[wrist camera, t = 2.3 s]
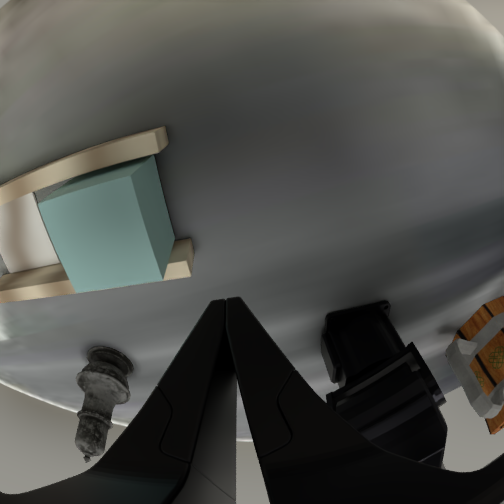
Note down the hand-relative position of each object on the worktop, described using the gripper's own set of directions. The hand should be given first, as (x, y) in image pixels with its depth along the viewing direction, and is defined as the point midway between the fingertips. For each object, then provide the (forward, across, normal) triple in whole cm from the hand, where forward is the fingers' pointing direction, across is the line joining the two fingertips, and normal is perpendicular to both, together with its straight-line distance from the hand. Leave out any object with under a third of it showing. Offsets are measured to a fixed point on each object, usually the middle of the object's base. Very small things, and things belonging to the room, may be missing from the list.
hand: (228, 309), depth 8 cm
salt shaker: (+12, +16, +16) cm, 25 cm away
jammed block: (+12, +7, 0) cm, 13 cm away
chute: (+12, +13, 0) cm, 18 cm away
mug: (+12, -30, +24) cm, 40 cm away
